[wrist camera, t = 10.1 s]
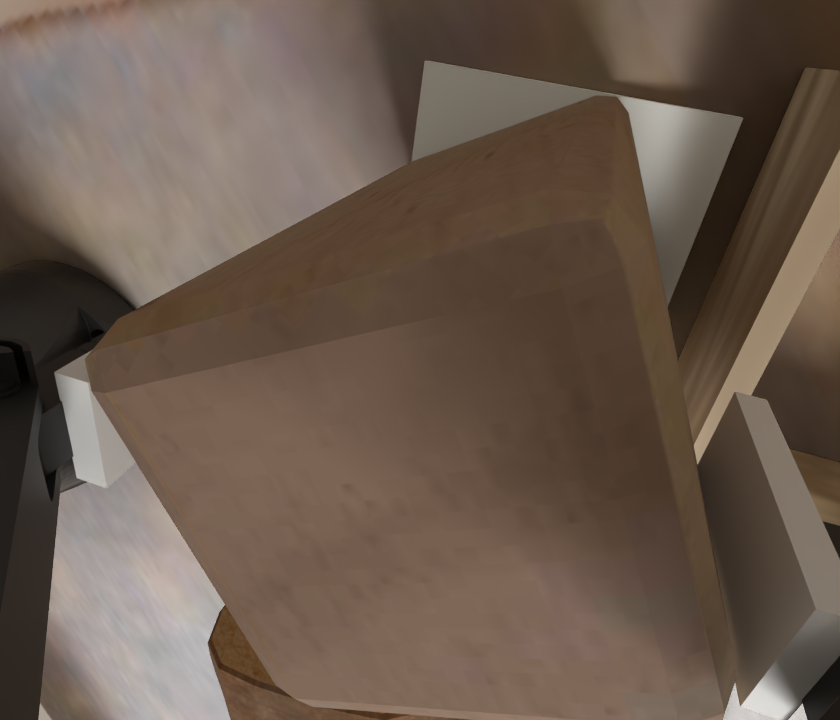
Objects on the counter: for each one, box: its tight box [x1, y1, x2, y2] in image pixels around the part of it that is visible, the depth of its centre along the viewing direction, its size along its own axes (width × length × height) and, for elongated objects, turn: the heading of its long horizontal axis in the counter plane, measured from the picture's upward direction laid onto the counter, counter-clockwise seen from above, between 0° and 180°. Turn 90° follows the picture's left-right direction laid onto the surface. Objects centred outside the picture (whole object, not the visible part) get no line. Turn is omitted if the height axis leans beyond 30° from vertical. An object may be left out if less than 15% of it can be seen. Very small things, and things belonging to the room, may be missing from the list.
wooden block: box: [85, 95, 737, 720], centre depth 18 cm, size 10×10×20 cm
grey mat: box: [411, 61, 743, 307], centre depth 27 cm, size 13×13×1 cm
